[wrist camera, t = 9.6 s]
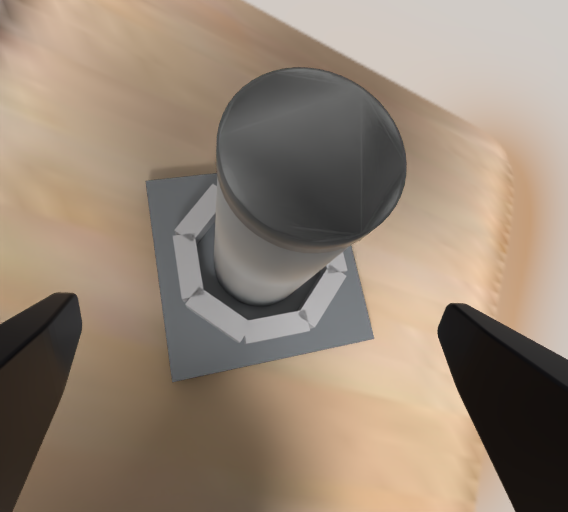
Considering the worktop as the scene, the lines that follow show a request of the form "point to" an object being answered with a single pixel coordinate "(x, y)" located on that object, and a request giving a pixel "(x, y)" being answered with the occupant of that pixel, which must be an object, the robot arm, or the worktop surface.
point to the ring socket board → (227, 310)
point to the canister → (299, 179)
